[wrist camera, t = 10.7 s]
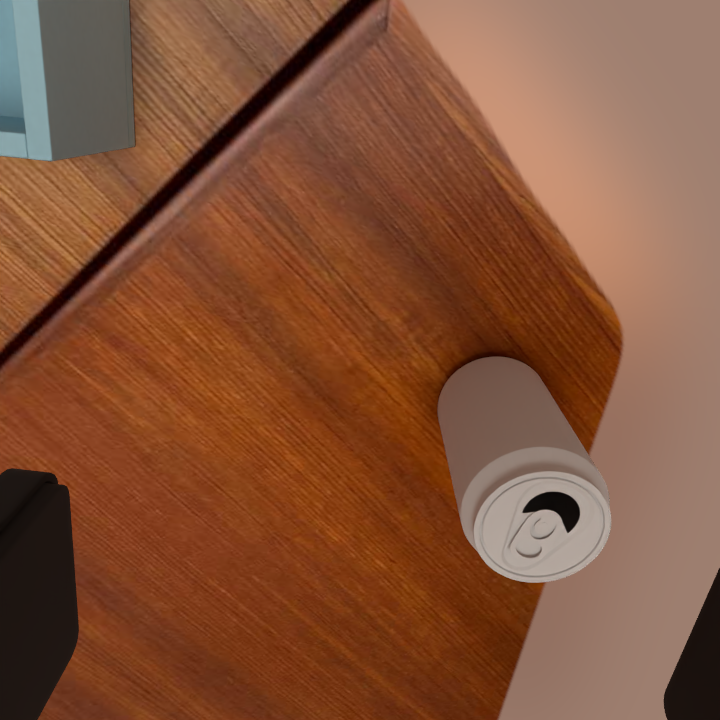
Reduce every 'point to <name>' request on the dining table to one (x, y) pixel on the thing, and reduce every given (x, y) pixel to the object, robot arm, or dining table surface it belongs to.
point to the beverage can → (520, 473)
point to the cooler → (65, 78)
